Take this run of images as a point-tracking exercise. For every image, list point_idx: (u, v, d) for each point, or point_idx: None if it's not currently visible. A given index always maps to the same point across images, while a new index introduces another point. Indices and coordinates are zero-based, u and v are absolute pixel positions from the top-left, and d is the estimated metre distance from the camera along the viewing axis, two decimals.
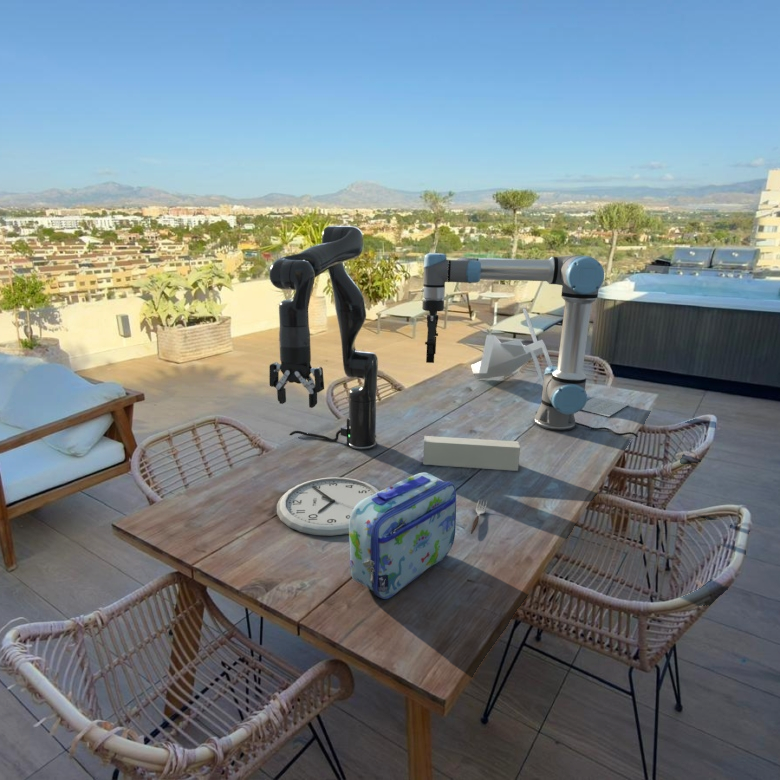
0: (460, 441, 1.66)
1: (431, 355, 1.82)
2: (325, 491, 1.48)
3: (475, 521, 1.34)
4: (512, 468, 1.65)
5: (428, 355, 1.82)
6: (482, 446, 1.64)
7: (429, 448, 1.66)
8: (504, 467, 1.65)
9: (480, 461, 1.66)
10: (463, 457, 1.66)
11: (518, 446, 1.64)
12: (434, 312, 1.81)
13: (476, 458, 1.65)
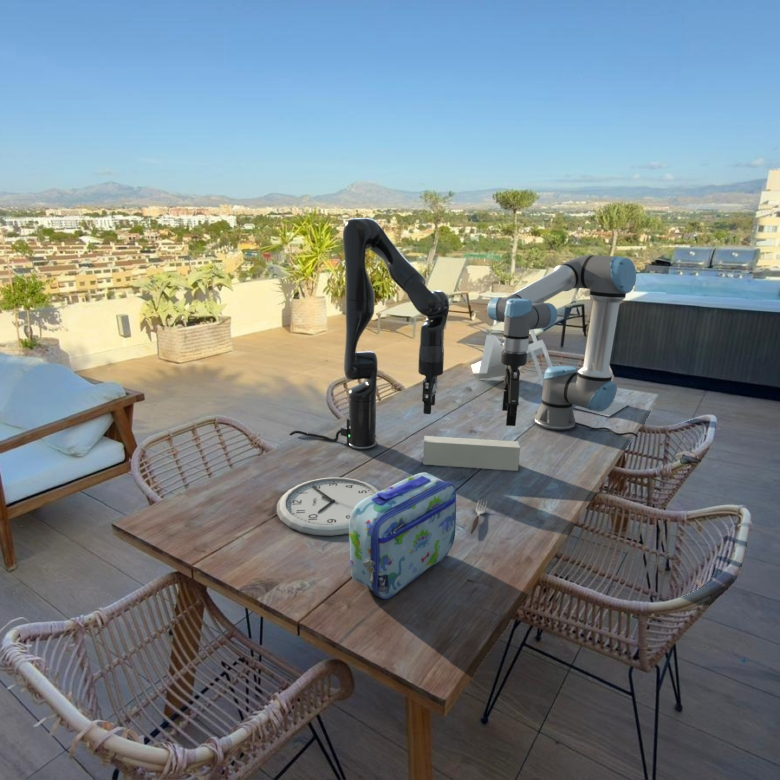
0: (460, 441, 1.66)
1: (512, 417, 1.55)
2: (325, 491, 1.48)
3: (475, 521, 1.34)
4: (512, 468, 1.65)
5: (509, 417, 1.55)
6: (482, 446, 1.64)
7: (429, 448, 1.66)
8: (504, 467, 1.65)
9: (480, 461, 1.66)
10: (463, 457, 1.66)
11: (518, 446, 1.64)
12: (516, 367, 1.54)
13: (476, 458, 1.65)
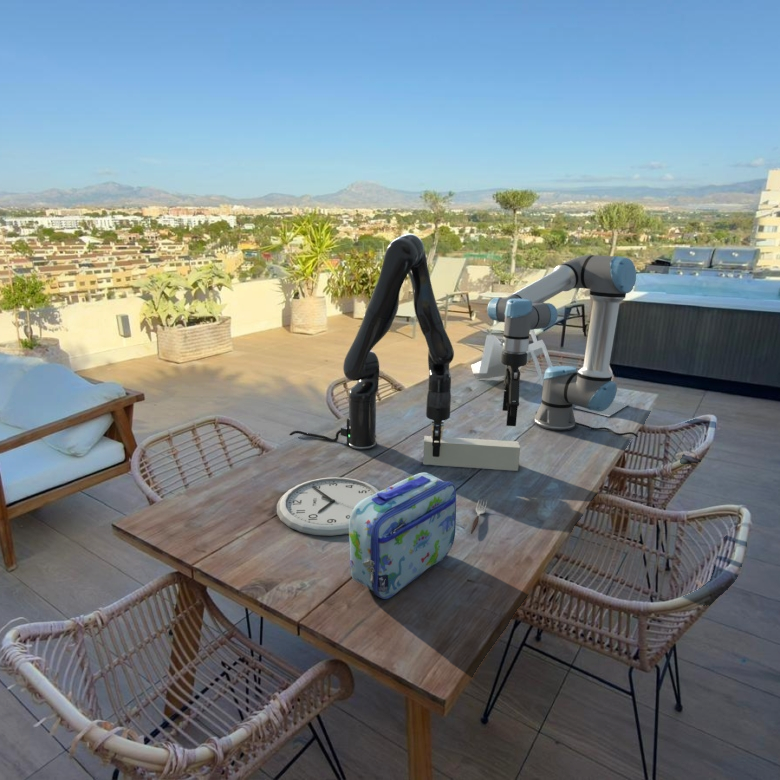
0: (460, 441, 1.66)
1: (513, 417, 1.55)
2: (325, 491, 1.48)
3: (475, 521, 1.34)
4: (512, 468, 1.65)
5: (510, 418, 1.55)
6: (482, 446, 1.64)
7: (429, 448, 1.66)
8: (504, 467, 1.65)
9: (480, 461, 1.66)
10: (463, 457, 1.66)
11: (518, 446, 1.64)
12: (517, 367, 1.54)
13: (476, 458, 1.65)
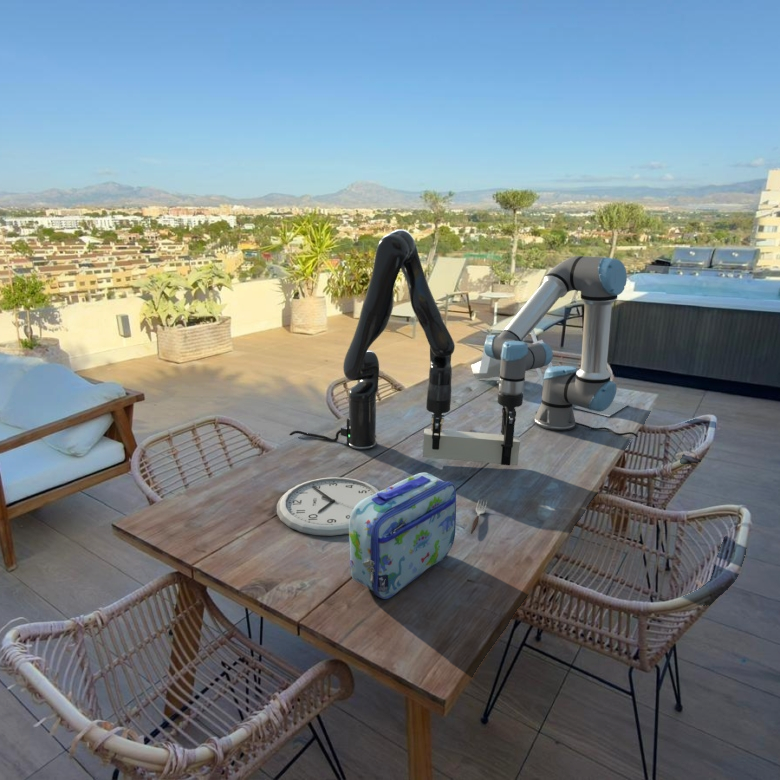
0: (460, 434, 1.66)
1: (507, 457, 1.64)
2: (325, 491, 1.48)
3: (475, 521, 1.34)
4: (511, 462, 1.65)
5: (504, 457, 1.64)
6: (482, 440, 1.64)
7: (428, 441, 1.66)
8: None
9: (480, 454, 1.65)
10: (462, 451, 1.66)
11: (518, 440, 1.63)
12: (513, 408, 1.58)
13: (476, 452, 1.65)
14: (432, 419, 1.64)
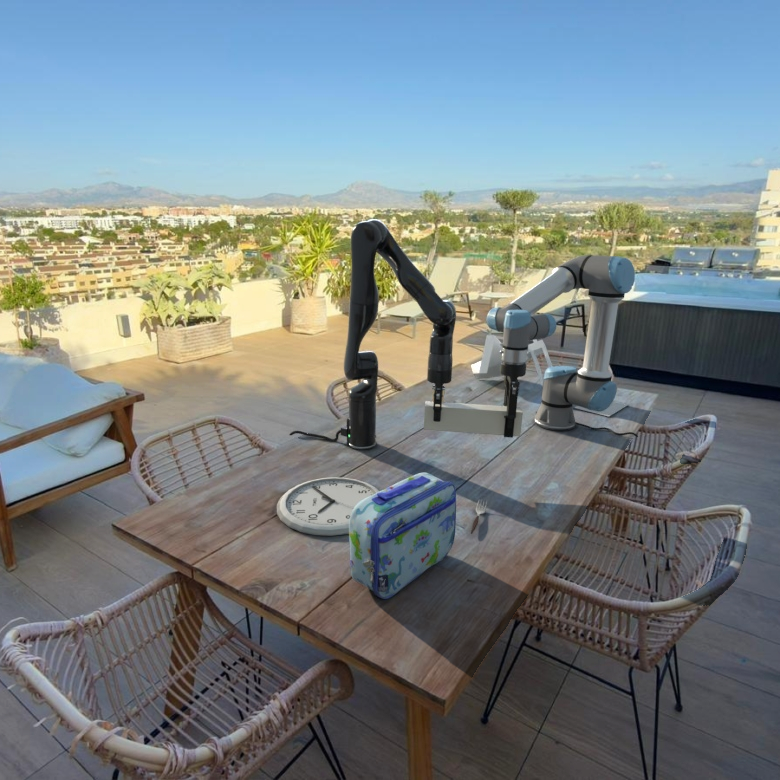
0: (462, 406, 1.63)
1: (510, 429, 1.61)
2: (325, 491, 1.48)
3: (475, 521, 1.34)
4: (514, 434, 1.62)
5: (507, 429, 1.61)
6: (484, 411, 1.61)
7: (429, 412, 1.63)
8: None
9: (482, 426, 1.62)
10: (464, 422, 1.63)
11: (521, 411, 1.60)
12: (516, 378, 1.55)
13: (478, 423, 1.62)
14: (433, 390, 1.61)
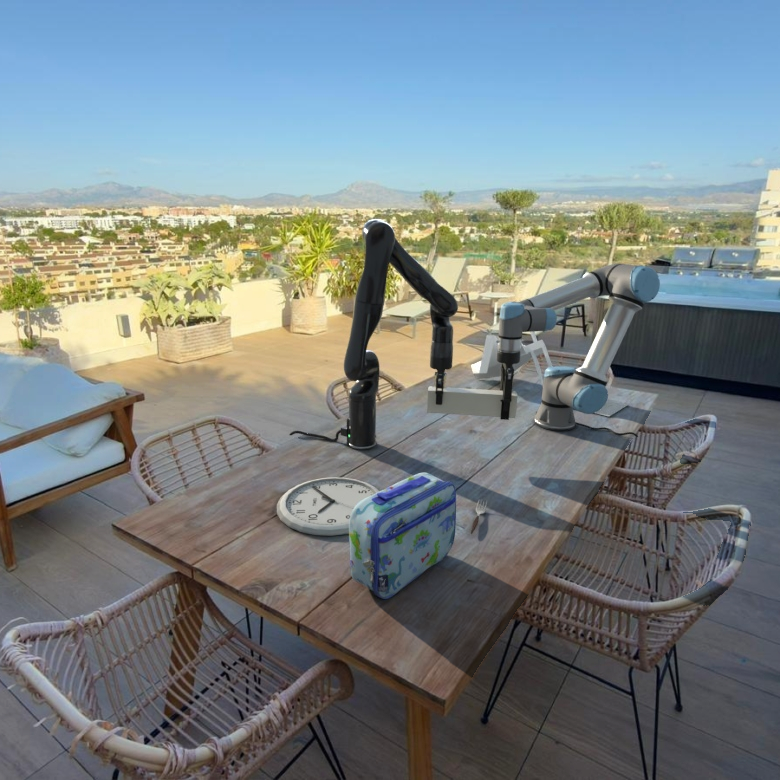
0: (462, 390, 1.78)
1: (506, 412, 1.76)
2: (325, 491, 1.48)
3: (475, 521, 1.34)
4: (510, 415, 1.77)
5: (503, 412, 1.76)
6: (482, 395, 1.76)
7: (432, 396, 1.78)
8: None
9: (480, 409, 1.78)
10: (464, 405, 1.78)
11: (516, 394, 1.75)
12: (511, 365, 1.71)
13: (477, 406, 1.77)
14: (435, 376, 1.77)
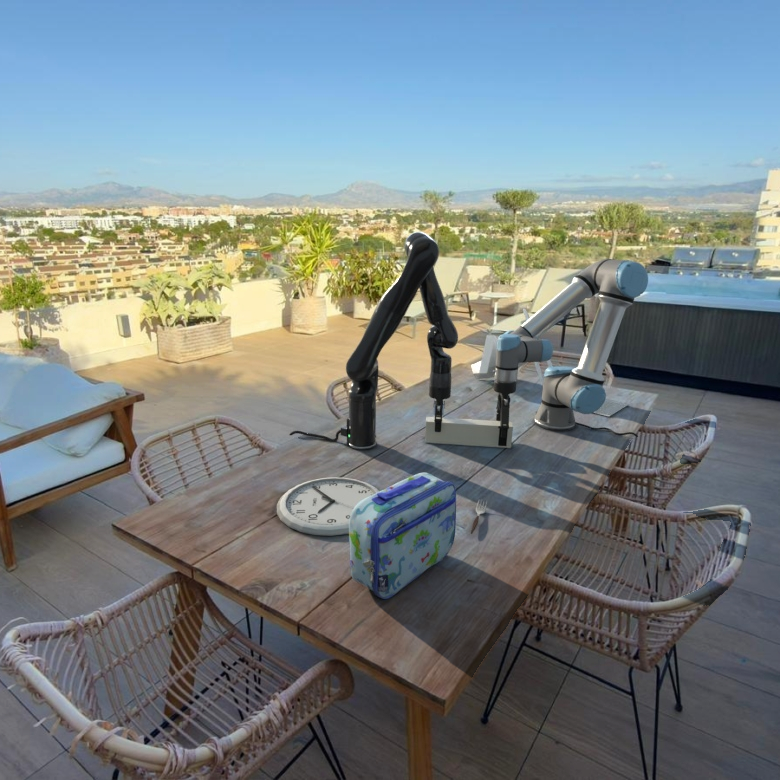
0: (459, 421, 1.84)
1: (504, 438, 1.77)
2: (325, 491, 1.48)
3: (475, 521, 1.34)
4: (506, 445, 1.82)
5: (501, 439, 1.77)
6: (478, 426, 1.81)
7: (430, 427, 1.83)
8: None
9: (477, 439, 1.83)
10: (461, 436, 1.83)
11: (511, 425, 1.81)
12: (507, 395, 1.76)
13: (473, 436, 1.82)
14: (434, 405, 1.81)
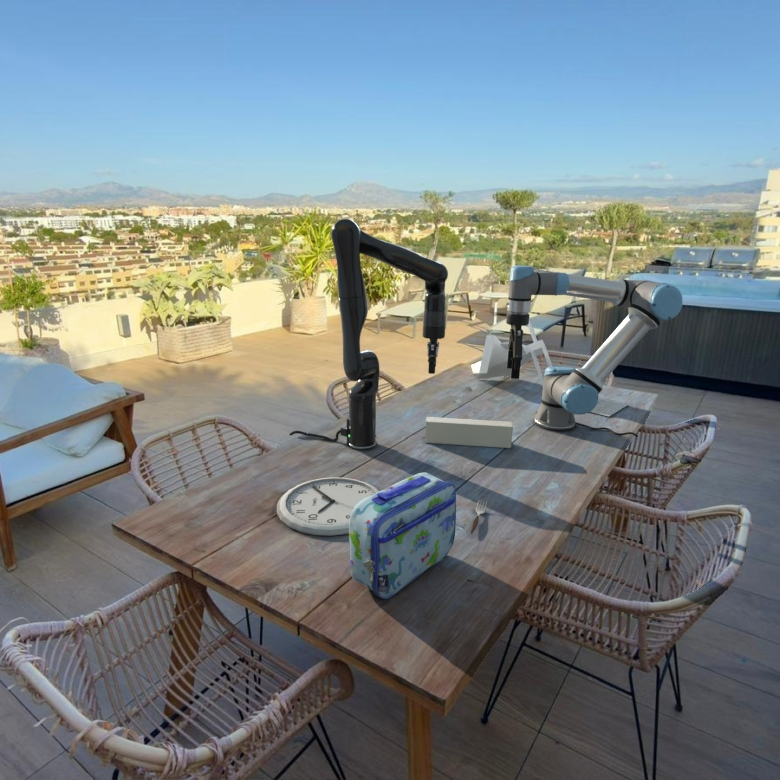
0: (459, 421, 1.84)
1: (516, 371, 1.75)
2: (325, 491, 1.48)
3: (475, 521, 1.34)
4: (506, 445, 1.82)
5: (514, 371, 1.75)
6: (478, 426, 1.81)
7: (430, 427, 1.83)
8: (498, 445, 1.82)
9: (477, 439, 1.83)
10: (461, 436, 1.83)
11: (511, 425, 1.81)
12: (520, 326, 1.74)
13: (473, 436, 1.82)
14: (428, 345, 1.76)
